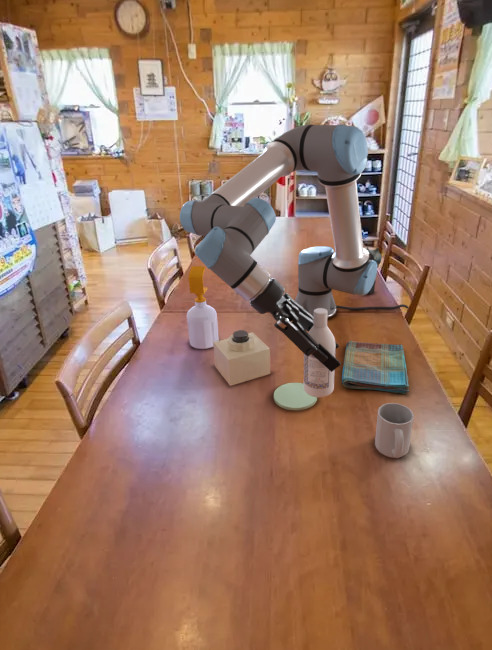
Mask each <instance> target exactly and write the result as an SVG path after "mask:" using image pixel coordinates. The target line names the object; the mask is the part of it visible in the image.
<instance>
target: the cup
mask: <svg viewBox="0 0 492 650" xmlns="http://www.w3.org/2000/svg"><path fill="white" fill-rule="evenodd" d="M414 417H415V414H414V412H413V410H411V409H410V407H409V406H407V405H404V404H403V403H402V404H401V403H398V402H387V403H383V404H382V405H380V406H379V407H378V409H377V417H376V427H375V438H374V446H375V449H376V450H377V451H378V452H379V453H380V454H382V455H383V456H385V457H388V458H393V459H399V458H402V457H404V456H406V455H407V454H408V452H409V450H410V446H411V439H412V431H413V425H414V420H415V419H414Z"/></svg>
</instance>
